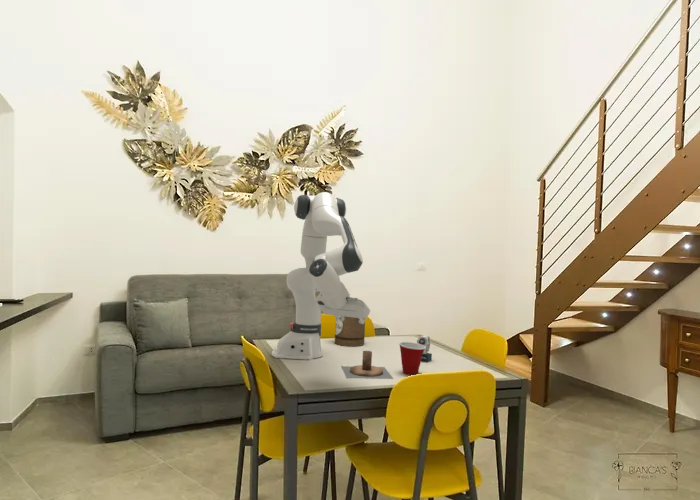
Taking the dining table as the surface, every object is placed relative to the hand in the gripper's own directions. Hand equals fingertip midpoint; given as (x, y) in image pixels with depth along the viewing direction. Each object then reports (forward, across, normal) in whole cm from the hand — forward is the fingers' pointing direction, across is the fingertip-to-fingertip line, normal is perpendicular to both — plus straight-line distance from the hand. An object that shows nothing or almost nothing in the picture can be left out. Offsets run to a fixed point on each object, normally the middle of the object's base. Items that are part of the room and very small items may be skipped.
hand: (352, 321), depth 202 cm
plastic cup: (+33, -12, -1) cm, 35 cm away
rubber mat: (+24, +1, +7) cm, 25 cm away
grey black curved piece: (+51, -4, -19) cm, 54 cm away
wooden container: (+53, +41, -23) cm, 71 cm away
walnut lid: (+23, +1, +7) cm, 24 cm away
